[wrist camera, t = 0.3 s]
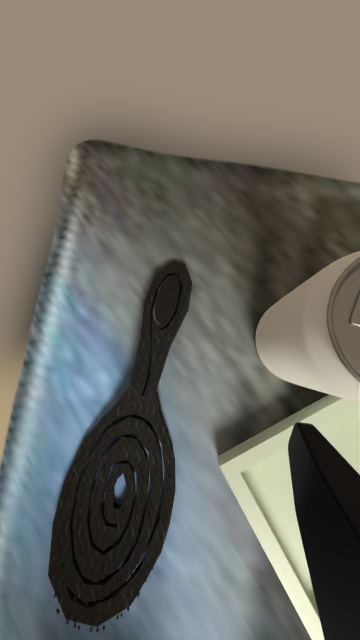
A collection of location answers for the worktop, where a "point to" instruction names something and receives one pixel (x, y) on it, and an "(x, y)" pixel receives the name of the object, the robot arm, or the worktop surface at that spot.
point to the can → (317, 332)
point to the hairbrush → (105, 518)
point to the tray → (288, 492)
